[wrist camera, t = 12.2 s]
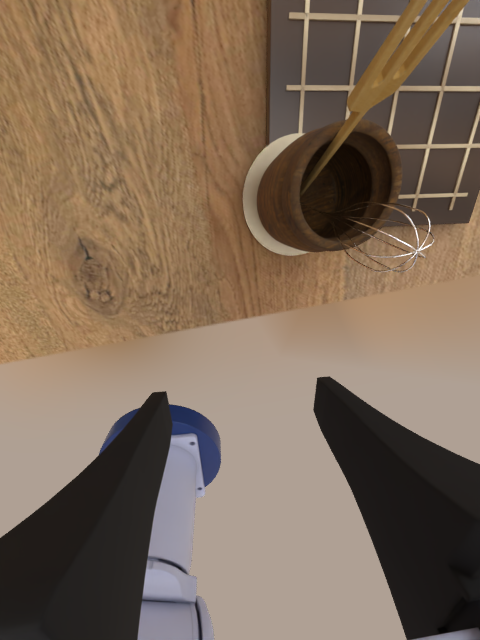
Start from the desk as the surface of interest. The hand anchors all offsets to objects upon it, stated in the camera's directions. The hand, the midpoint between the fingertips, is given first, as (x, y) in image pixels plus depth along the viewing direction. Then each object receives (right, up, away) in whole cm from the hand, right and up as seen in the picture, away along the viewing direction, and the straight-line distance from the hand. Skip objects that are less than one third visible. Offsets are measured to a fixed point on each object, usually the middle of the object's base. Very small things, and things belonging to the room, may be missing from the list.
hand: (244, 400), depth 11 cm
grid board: (+9, +18, +5) cm, 20 cm away
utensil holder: (+4, +12, +5) cm, 14 cm away
